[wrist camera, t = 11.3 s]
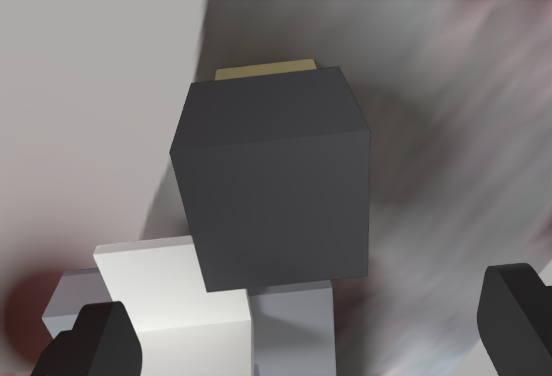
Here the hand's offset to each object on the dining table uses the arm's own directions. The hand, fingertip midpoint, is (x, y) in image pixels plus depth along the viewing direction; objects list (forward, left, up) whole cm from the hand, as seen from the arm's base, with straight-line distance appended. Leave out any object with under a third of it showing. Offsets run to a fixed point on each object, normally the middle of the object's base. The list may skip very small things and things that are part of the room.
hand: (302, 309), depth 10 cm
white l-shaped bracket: (-5, -7, -8) cm, 12 cm away
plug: (0, 0, -11) cm, 11 cm away
